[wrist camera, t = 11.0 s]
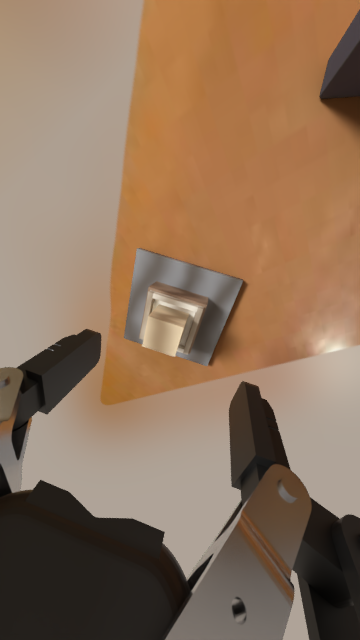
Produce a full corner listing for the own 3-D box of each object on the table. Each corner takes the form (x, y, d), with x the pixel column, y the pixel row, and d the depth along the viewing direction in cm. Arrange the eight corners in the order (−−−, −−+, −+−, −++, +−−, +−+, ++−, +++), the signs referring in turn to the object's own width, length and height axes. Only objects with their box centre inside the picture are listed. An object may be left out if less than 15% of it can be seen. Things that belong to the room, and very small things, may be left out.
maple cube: (189, 313, 29) (183, 327, 24) (181, 339, 31) (174, 357, 26) (159, 304, 29) (148, 316, 25) (153, 330, 31) (142, 346, 27)
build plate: (242, 279, 30) (247, 288, 25) (207, 362, 38) (205, 383, 33) (139, 248, 31) (122, 250, 26) (126, 335, 39) (111, 351, 34)
